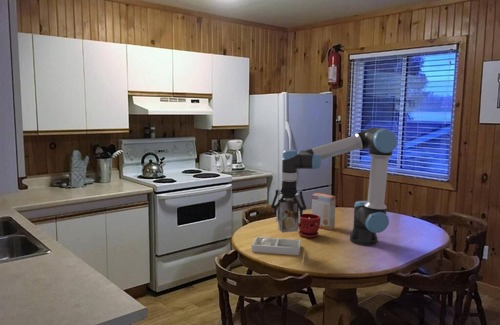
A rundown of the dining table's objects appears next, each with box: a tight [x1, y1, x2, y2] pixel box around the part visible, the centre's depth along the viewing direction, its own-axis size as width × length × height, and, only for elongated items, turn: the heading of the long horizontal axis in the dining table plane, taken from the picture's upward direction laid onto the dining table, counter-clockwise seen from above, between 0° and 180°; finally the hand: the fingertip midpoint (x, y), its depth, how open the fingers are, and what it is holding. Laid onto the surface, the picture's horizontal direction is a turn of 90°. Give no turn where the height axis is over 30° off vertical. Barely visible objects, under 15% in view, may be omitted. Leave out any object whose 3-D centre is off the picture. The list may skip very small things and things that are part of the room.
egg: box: [261, 237, 271, 246], centre depth 222 cm, size 5×5×5 cm
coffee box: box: [277, 198, 300, 234], centre depth 217 cm, size 9×6×16 cm
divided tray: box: [251, 236, 302, 256], centre depth 221 cm, size 24×14×4 cm, turn 79°
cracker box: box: [311, 192, 336, 231], centre depth 261 cm, size 14×6×21 cm, turn 44°
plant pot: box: [298, 213, 321, 239], centre depth 246 cm, size 13×13×12 cm
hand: (288, 221), depth 218 cm, fingers closed on coffee box, 11 cm apart
